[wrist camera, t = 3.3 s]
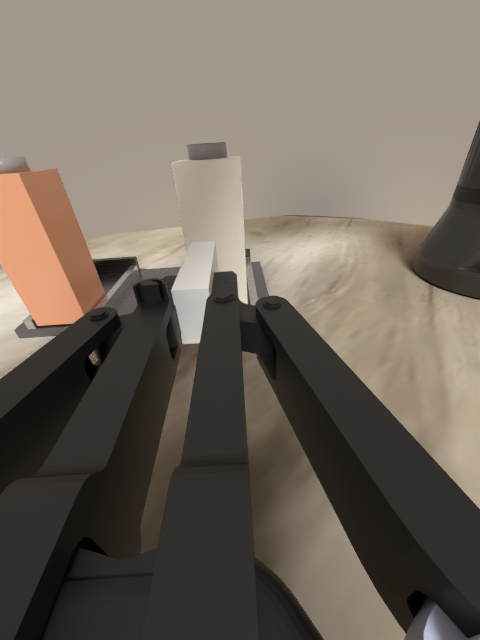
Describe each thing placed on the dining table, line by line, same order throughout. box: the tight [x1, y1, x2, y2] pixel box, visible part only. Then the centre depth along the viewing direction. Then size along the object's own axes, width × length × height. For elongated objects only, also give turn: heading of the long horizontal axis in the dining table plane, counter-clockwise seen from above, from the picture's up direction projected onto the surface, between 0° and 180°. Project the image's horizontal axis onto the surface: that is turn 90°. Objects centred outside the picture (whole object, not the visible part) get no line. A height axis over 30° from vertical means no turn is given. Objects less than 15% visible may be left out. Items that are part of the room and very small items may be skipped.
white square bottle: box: [171, 142, 248, 304], centre depth 24 cm, size 5×5×14 cm
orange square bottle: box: [0, 157, 106, 326], centre depth 24 cm, size 5×5×14 cm
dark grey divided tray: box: [14, 249, 269, 338], centre depth 31 cm, size 26×14×3 cm, turn 92°
